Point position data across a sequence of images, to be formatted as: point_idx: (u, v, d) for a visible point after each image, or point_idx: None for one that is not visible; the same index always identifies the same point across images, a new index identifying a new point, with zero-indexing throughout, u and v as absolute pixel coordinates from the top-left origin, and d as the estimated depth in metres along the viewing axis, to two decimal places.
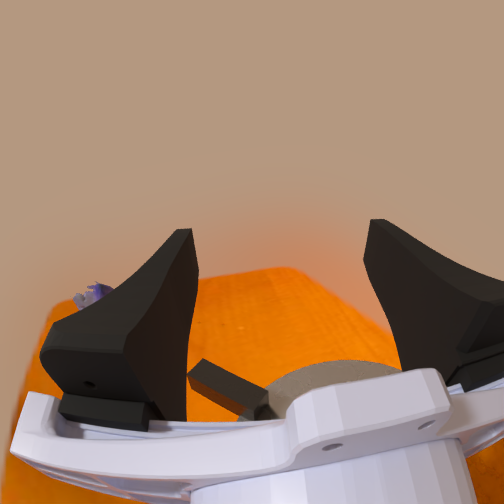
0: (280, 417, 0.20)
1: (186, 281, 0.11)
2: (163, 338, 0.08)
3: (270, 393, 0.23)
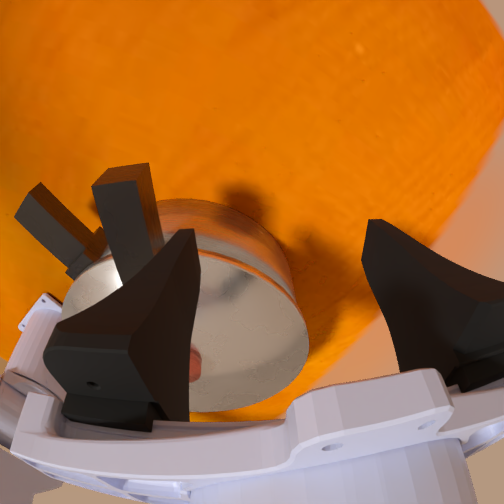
0: None
1: (189, 281, 0.11)
2: (166, 338, 0.08)
3: None
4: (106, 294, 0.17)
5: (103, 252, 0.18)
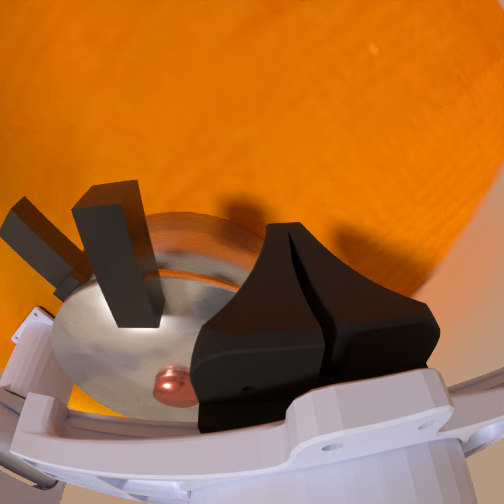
0: None
1: None
2: None
3: (182, 293, 0.14)
4: (97, 319, 0.15)
5: (93, 272, 0.16)
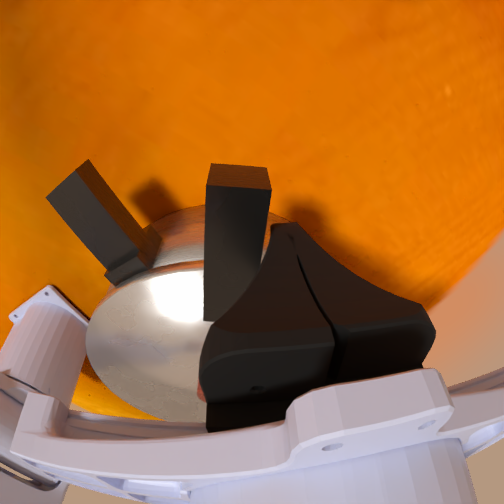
0: None
1: None
2: None
3: None
4: (159, 309, 0.15)
5: (156, 257, 0.16)
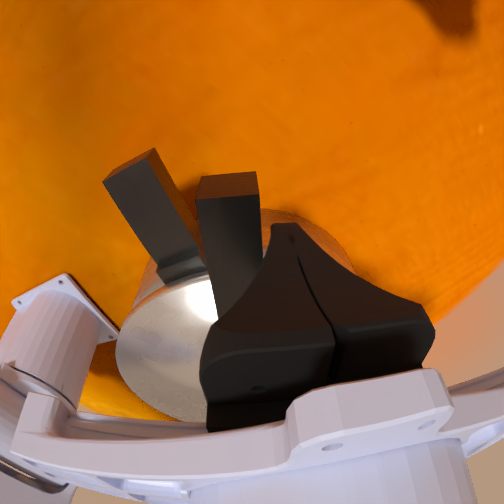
0: None
1: None
2: None
3: None
4: (179, 321, 0.15)
5: None
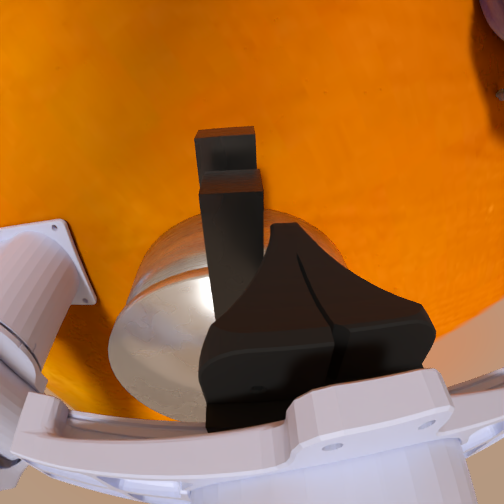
0: None
1: None
2: None
3: None
4: (174, 318, 0.15)
5: None
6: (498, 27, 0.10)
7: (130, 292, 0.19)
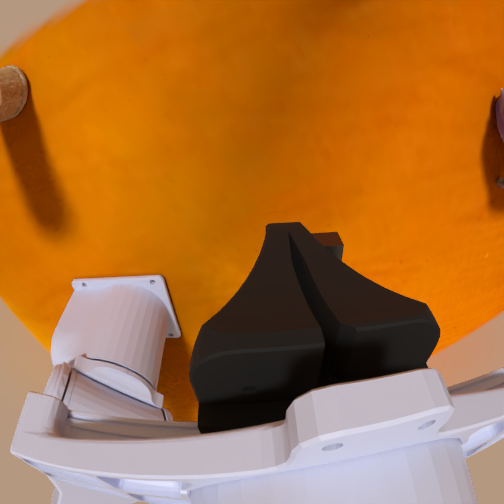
0: None
1: None
2: None
3: None
4: None
5: None
6: None
7: None
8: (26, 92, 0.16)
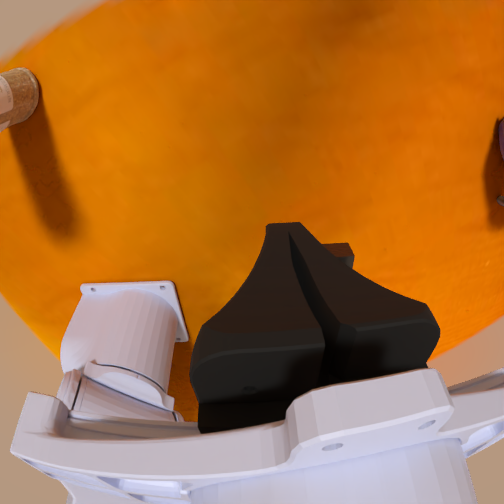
0: None
1: None
2: None
3: None
4: None
5: None
6: None
7: None
8: (37, 95, 0.16)
